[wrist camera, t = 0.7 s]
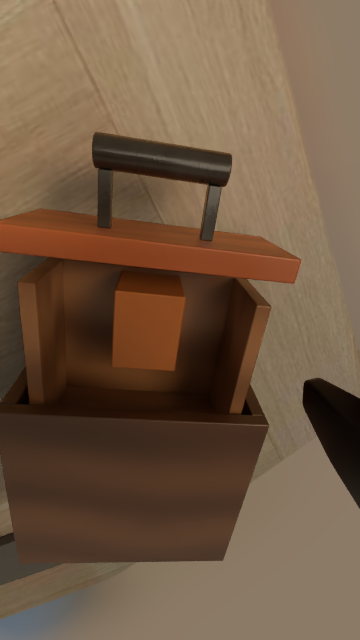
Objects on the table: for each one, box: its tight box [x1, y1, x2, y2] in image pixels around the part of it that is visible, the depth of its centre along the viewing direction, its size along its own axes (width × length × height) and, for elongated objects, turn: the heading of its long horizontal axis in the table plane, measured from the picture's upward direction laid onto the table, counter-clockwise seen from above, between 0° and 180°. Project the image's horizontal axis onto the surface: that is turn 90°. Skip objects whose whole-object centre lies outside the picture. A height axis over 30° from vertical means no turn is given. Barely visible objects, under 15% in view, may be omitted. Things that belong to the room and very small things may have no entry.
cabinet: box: [0, 366, 269, 564], centre depth 22 cm, size 14×15×8 cm
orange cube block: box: [111, 271, 186, 371], centre depth 18 cm, size 5×4×4 cm
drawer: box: [0, 132, 301, 415], centre depth 17 cm, size 16×13×6 cm
